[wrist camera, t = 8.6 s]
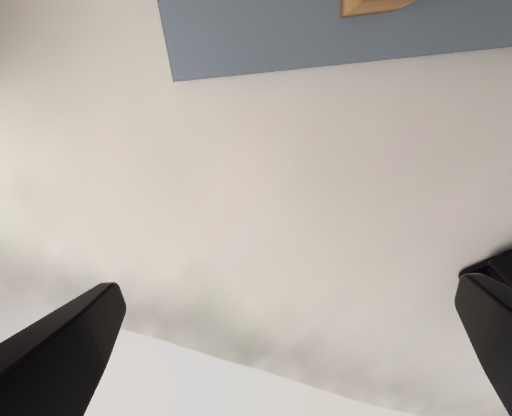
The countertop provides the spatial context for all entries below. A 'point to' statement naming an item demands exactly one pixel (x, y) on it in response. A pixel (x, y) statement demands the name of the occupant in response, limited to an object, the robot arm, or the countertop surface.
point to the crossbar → (370, 7)
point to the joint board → (320, 33)
